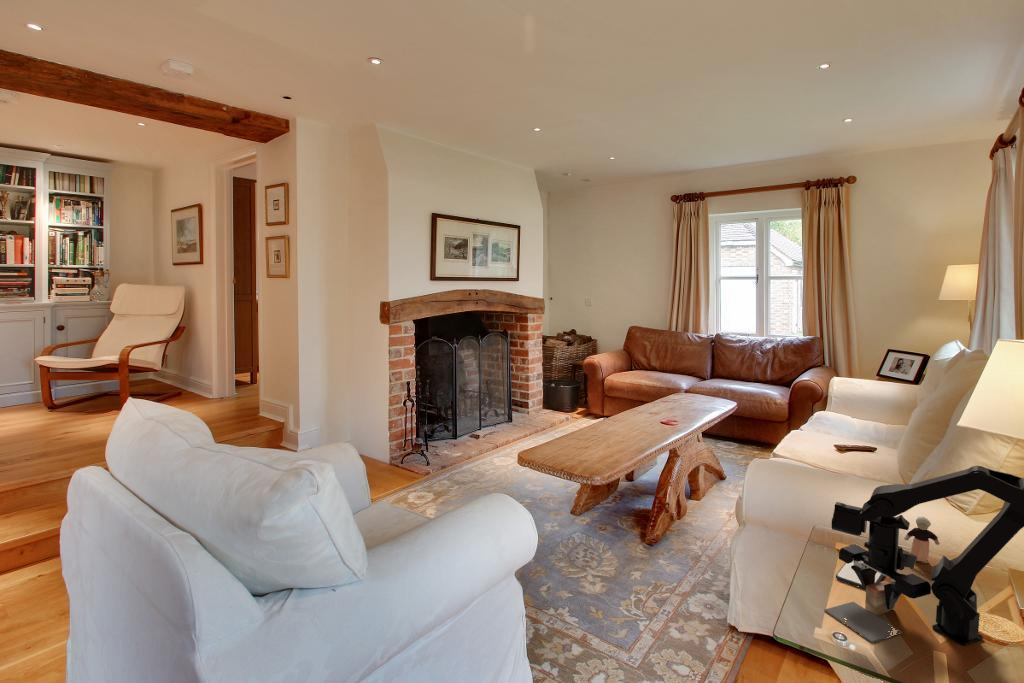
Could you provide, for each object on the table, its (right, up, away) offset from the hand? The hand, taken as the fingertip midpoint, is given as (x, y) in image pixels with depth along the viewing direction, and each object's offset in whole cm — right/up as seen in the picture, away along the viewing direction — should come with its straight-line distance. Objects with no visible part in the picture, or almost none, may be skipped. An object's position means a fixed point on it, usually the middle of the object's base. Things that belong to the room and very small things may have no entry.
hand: (880, 603), depth 127 cm
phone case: (+6, 0, +16) cm, 17 cm away
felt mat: (-7, -2, -4) cm, 8 cm away
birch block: (0, -2, 0) cm, 2 cm away
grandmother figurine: (+25, +1, +21) cm, 33 cm away
